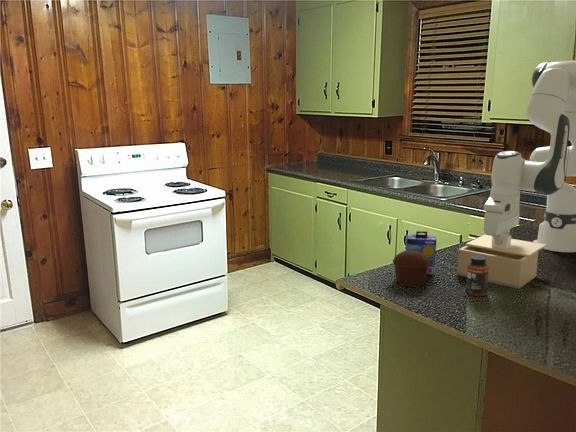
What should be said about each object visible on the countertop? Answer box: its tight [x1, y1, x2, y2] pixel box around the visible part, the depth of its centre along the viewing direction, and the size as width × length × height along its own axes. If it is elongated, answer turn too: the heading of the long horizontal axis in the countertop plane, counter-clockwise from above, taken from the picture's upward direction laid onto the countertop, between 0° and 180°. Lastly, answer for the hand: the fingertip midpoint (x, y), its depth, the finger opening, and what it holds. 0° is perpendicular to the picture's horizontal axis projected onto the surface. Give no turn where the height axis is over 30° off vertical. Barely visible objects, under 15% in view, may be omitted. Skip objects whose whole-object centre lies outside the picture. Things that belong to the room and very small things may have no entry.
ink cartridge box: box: [405, 230, 437, 275], centre depth 173 cm, size 10×6×14 cm, turn 79°
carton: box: [456, 244, 539, 290], centre depth 168 cm, size 15×20×9 cm
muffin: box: [392, 250, 430, 287], centre depth 163 cm, size 12×11×10 cm
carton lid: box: [465, 233, 546, 257], centre depth 171 cm, size 16×20×5 cm
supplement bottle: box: [465, 256, 489, 297], centre depth 152 cm, size 6×6×11 cm
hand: (501, 243), depth 168 cm, fingers closed on carton lid, 3 cm apart
